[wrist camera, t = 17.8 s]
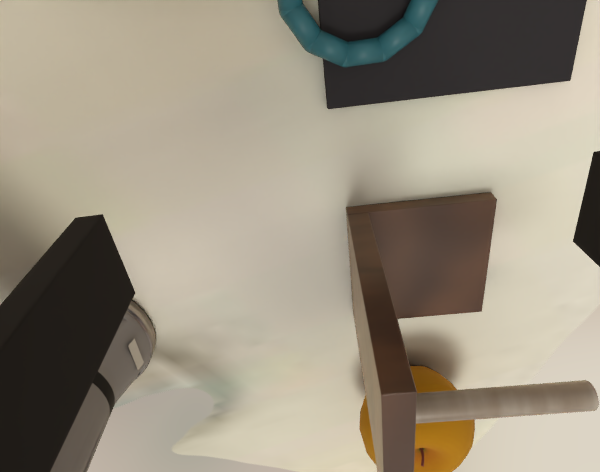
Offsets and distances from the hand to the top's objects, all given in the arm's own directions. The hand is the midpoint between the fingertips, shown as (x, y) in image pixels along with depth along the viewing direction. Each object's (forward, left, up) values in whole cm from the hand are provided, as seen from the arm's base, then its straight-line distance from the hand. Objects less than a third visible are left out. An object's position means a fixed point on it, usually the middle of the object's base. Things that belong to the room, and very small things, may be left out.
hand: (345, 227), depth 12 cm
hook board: (+9, -21, -28) cm, 36 cm away
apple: (+8, -40, -28) cm, 50 cm away
